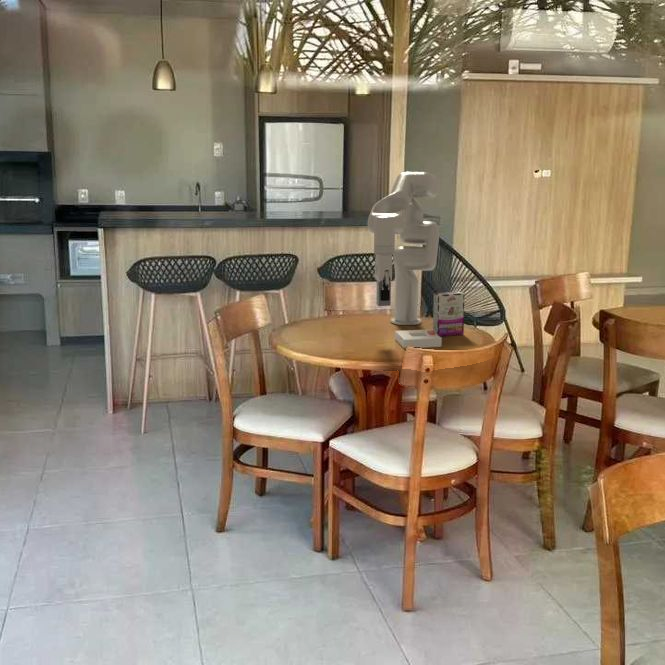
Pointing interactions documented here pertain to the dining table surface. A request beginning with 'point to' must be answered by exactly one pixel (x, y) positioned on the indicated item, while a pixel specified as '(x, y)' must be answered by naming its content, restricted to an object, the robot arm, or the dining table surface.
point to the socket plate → (418, 338)
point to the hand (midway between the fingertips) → (383, 298)
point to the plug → (379, 288)
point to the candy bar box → (448, 313)
